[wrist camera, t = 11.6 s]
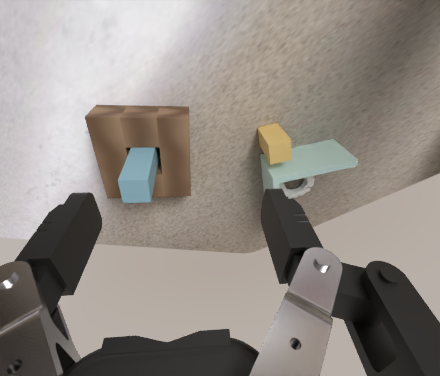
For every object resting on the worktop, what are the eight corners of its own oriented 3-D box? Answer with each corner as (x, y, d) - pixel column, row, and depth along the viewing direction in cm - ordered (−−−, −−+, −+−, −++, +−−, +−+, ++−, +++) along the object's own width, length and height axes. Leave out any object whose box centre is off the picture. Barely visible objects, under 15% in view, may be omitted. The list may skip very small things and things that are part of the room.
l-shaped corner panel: (264, 207, 46) (276, 236, 40) (259, 153, 39) (272, 178, 33) (325, 193, 46) (346, 221, 40) (331, 137, 39) (358, 159, 33)
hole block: (188, 106, 33) (189, 118, 29) (190, 179, 40) (190, 195, 36) (96, 105, 31) (84, 117, 28) (114, 180, 38) (107, 198, 35)
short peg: (277, 122, 36) (291, 139, 31) (278, 140, 38) (291, 159, 33) (257, 127, 36) (268, 145, 31) (259, 145, 38) (270, 164, 33)
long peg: (158, 133, 35) (147, 179, 25) (160, 152, 36) (151, 202, 27) (136, 133, 34) (117, 180, 25) (139, 152, 36) (122, 203, 26)
